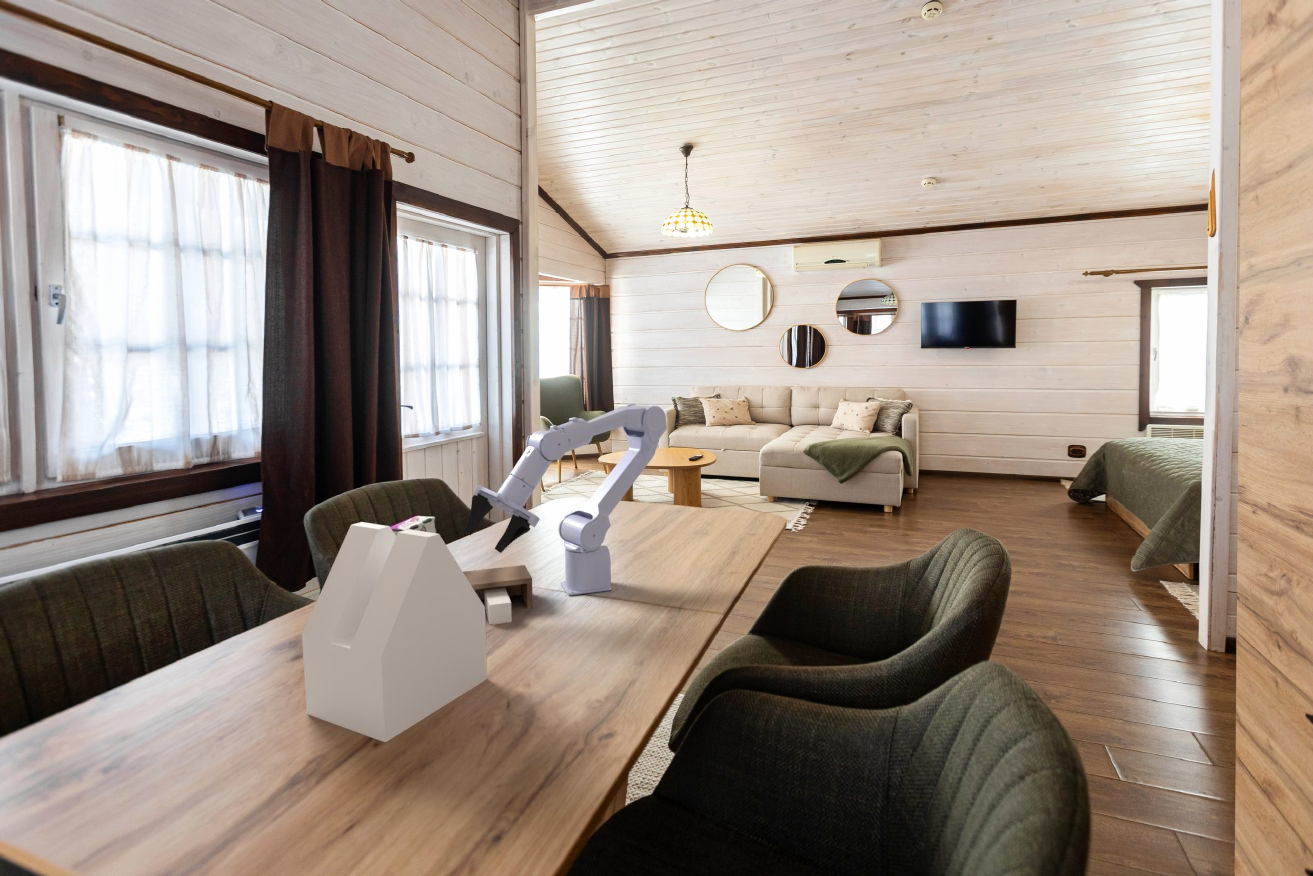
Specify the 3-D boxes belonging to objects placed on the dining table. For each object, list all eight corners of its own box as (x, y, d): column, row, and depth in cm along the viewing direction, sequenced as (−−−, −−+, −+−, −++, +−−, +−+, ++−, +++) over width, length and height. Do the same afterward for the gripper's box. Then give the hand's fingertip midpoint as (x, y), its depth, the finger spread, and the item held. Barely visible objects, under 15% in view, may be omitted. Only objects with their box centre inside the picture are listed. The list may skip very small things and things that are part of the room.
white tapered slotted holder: (414, 659, 109) (407, 510, 106) (487, 679, 102) (482, 520, 99) (307, 714, 92) (295, 539, 89) (385, 743, 85) (375, 553, 82)
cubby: (525, 592, 140) (524, 565, 140) (532, 607, 132) (532, 577, 131) (456, 601, 135) (455, 572, 135) (459, 616, 127) (458, 586, 126)
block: (505, 606, 133) (504, 587, 133) (511, 623, 125) (511, 602, 124) (484, 609, 132) (484, 589, 131) (489, 625, 123) (489, 605, 123)
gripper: (485, 460, 130) (444, 519, 126) (544, 491, 126) (504, 553, 121) (498, 473, 137) (459, 530, 132) (555, 503, 132) (517, 563, 128)
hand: (482, 542), depth 127 cm, fingers open, 7 cm apart
